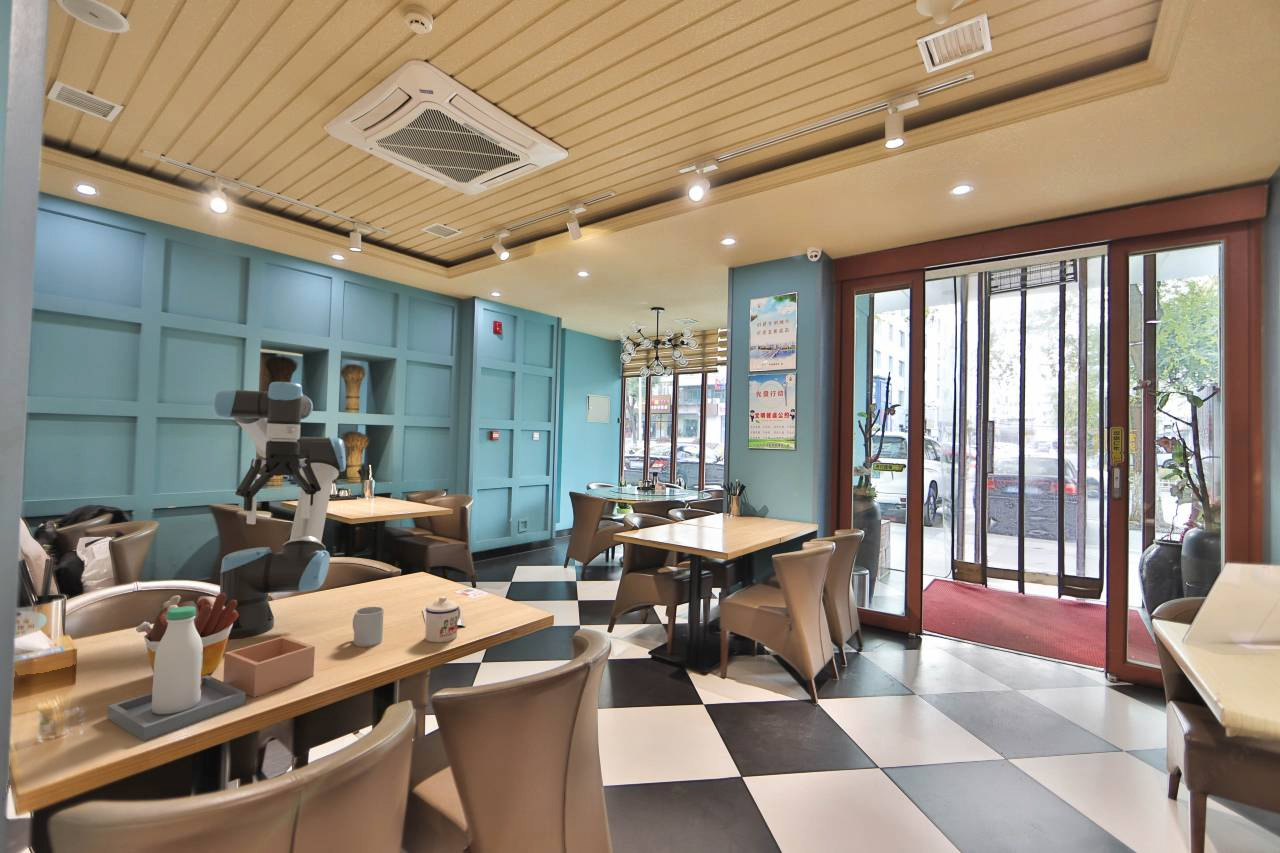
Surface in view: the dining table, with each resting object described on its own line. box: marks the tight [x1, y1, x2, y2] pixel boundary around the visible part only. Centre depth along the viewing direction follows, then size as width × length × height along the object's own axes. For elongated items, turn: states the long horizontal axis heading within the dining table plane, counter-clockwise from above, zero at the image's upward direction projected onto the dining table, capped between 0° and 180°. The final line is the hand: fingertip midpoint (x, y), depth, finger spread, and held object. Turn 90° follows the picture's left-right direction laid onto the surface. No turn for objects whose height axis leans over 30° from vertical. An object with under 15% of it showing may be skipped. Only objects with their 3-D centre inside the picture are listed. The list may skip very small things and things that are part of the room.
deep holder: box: [222, 635, 316, 698], centre depth 128 cm, size 13×13×7 cm
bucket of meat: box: [135, 592, 239, 677], centre depth 130 cm, size 20×16×20 cm
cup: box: [352, 606, 385, 648], centre depth 154 cm, size 7×10×9 cm
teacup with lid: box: [424, 595, 461, 644], centre depth 160 cm, size 12×9×12 cm
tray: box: [107, 674, 247, 742], centre depth 113 cm, size 16×17×2 cm
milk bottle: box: [151, 606, 203, 715], centre depth 113 cm, size 8×8×20 cm
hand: (279, 520), depth 145 cm, fingers open, 13 cm apart
